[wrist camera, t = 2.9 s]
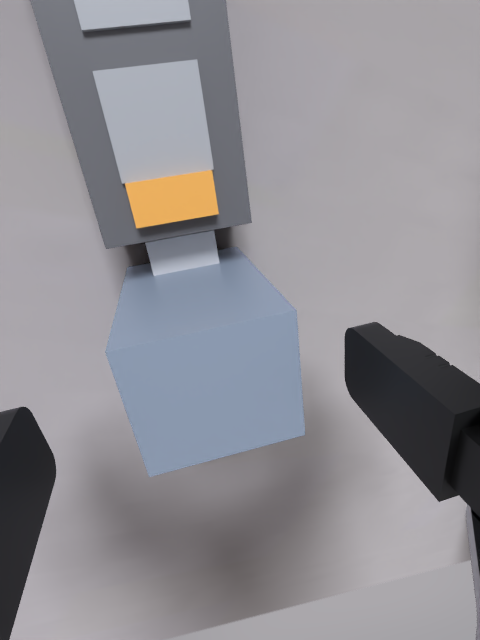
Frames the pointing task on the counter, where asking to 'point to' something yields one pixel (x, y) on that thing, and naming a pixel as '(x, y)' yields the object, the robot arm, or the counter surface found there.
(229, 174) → the strip
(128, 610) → the counter surface
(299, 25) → the counter surface
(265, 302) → the block
